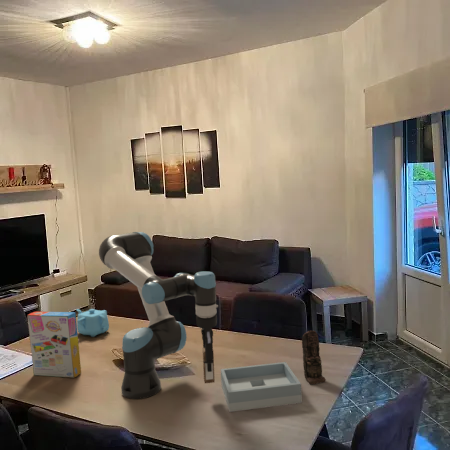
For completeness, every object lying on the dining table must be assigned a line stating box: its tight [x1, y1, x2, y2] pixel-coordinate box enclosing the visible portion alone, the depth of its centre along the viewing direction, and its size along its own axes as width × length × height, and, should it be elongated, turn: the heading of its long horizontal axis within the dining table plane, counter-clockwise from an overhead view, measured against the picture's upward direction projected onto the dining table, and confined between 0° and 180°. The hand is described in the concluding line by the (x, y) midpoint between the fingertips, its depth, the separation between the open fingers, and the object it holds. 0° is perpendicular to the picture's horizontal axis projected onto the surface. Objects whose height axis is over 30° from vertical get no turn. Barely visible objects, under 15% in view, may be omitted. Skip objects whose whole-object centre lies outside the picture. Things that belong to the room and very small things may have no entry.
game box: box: [26, 311, 82, 379], centre depth 197 cm, size 21×6×27 cm, turn 74°
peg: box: [202, 347, 215, 384], centre depth 167 cm, size 4×4×12 cm
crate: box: [220, 361, 303, 413], centre depth 169 cm, size 26×20×7 cm
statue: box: [301, 330, 326, 385], centre depth 178 cm, size 7×7×20 cm
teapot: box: [75, 308, 110, 338], centre depth 250 cm, size 18×16×14 cm
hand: (208, 376), depth 168 cm, fingers closed on peg, 4 cm apart
